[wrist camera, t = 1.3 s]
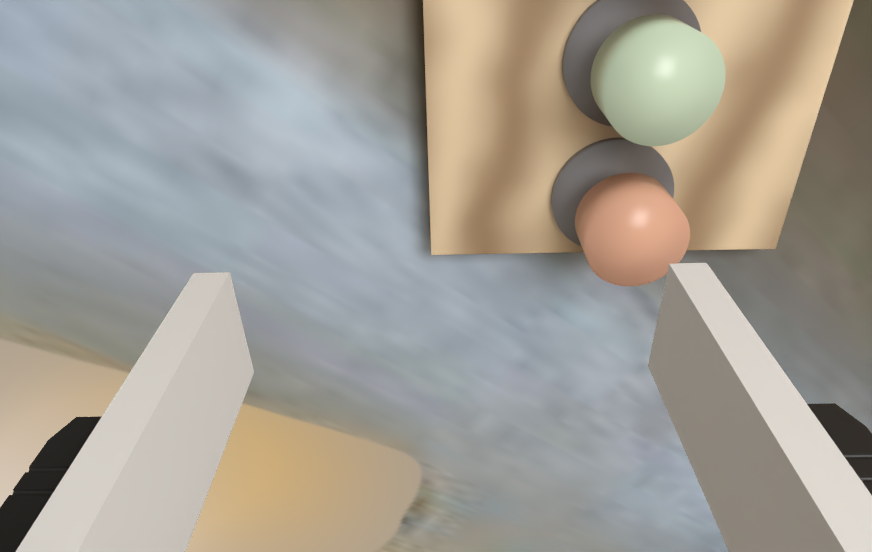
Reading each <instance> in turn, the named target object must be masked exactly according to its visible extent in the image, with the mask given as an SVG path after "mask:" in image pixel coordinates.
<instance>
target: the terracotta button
mask: <svg viewBox="0 0 872 552" xmlns="http://www.w3.org/2000/svg"><path fill="white" fill-rule="evenodd" d="M575 229H576V233H577V236H578V238H579V241H580V243H581V246H582V248H583V251H584V253H585V256H586V258H587V261H588V263H589V265H590V267H591V269H592V270H593V271H594V272H595V273H596V275H598V276H599V277H600V278H602V279H603V280H605V281H607V282H609V283H612V284H615V285H620V286H638V285H643V284H647V283H650V282H653V281H655V280H657V279H659V278H661V277H663V276H664V275H666V274H667V272H668V267H669V264H678V263H679V262H680V261H681V259H682V258H683V256H684V254H685V253H686V250H687V248H688V245H689V241H690V227H689V223H688V220H687V218H686V216H685V214H684V213H683V211H682V210H681V209H680V207H679V206H678V205H677V203H676V202H675V201H674V199H673V198H672V197H671V195H670V194H669V193H668V191H667V190H666V189H665V187H664V186H663V185H662V184H661V183H660V182H659V181H657V180H656V179H654V178H652V177H650V176H648V175H645V174H640V173H621V174H616V175H613V176H610V177H608V178H606V179H604V180H602V181H600V182H599V183H597V184H596V185H595V186H593V187H592V188H591V189H590V190H589V191H588V192H587V193H586V194H585V196H584V197H583V198H582V200H581V202H580V204H579V206H578V208H577V211H576V216H575Z"/></svg>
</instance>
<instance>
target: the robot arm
mask: <svg viewBox="0 0 872 552" xmlns="http://www.w3.org/2000/svg"><path fill="white" fill-rule="evenodd" d="M648 367H649V369H650V371H651V374H652V376H653V378H654V381H655V383H656V385H657V387H658V390H659V392H660V394H661V397H662V399H663V401H664V403H665V406H666V408H667V410H668V413H669V415H670V417H671V420H672V422H673V424H674V426H675V429H676V431H677V433H678V436H679V438H680V440H681V442H682V445H683V447H684V449H685V452H686V454H687V456H688V459H689V461H690V463H691V465H692V468H693V470H694V472H695V475H696V477H697V479H698V481H699V484H700V486H701V488H702V491H703V493H704V495H705V497H706V500H707V502H708V504H709V507H710V509H711V511H712V514H713V516H714V518H715V520H716V523H717V525H718V527H719V530H720V532H721V534H722V536H723V539H724V541H725V543H726V546H727V548H728V550H729V552H872V434H871V432H870V431H869V430H868V428H867V427H866V426H865V425H863V424H862V423H861V422H859V421H858V420H857V419H855V418H854V417H852V416H851V415H850V414H848V413H847V412H846V411H844V410H843V409H842V408H840V407H839V406H838V405H836V404H806V402H805V401H804V399H803V398H802V397H801V395H800V394H799V392H798V391H797V390H796V388H795V387H794V385H793V384H792V383H791V381H790V380H789V378H788V377H787V376H786V374H785V373H784V371H783V370H782V368H781V367H780V366H779V364H778V363H777V361H776V360H775V359H774V357H773V356H772V354H771V353H770V352H769V350H768V349H767V347H766V346H765V345H764V343H763V342H762V340H761V339H760V338H759V336H758V335H757V333H756V332H755V331H754V329H753V328H752V326H751V325H750V323H749V322H748V321H747V319H746V318H745V316H744V315H743V314H742V312H741V311H740V309H739V308H738V307H737V305H736V304H735V302H734V301H733V300H732V298H731V297H730V295H729V294H728V293H727V291H726V290H725V288H724V287H723V286H722V284H721V283H720V281H719V280H718V278H717V277H716V276H715V274H714V273H713V271H712V270H711V269H710V267H709V266H708V264H707V263H681V264H669V267H668V272H667V277H666V282H665V286H664V291H663V296H662V301H661V306H660V310H659V315H658V320H657V325H656V330H655V334H654V339H653V344H652V349H651V354H650V358H649V363H648ZM253 374H254V370H253V366H252V362H251V358H250V353H249V349H248V345H247V341H246V337H245V333H244V329H243V325H242V321H241V317H240V313H239V308H238V304H237V300H236V296H235V292H234V288H233V284H232V280H231V276H230V272H224V273H193V275H192V276H191V278H190V279H189V281H188V282H187V284H186V286H185V287H184V289H183V290H182V292H181V293H180V295H179V297H178V298H177V300H176V301H175V303H174V304H173V306H172V308H171V309H170V311H169V312H168V314H167V315H166V317H165V318H164V320H163V322H162V323H161V325H160V326H159V328H158V329H157V331H156V333H155V334H154V336H153V337H152V339H151V340H150V342H149V344H148V345H147V347H146V348H145V350H144V351H143V353H142V354H141V356H140V358H139V359H138V361H137V362H136V364H135V365H134V367H133V369H132V370H131V372H130V373H129V375H128V377H127V378H126V380H125V381H124V383H123V384H122V386H121V387H120V389H119V391H118V392H117V394H116V395H115V397H114V399H113V400H112V401H111V403H110V405H109V406H108V408H107V409H106V411H105V412H104V414H103V416H102V417H76V418H75V419H73V420H72V421H71V422H70V423H69V424H68V425H66V426H65V427H64V428H62V429H61V430H60V431H59V432H58V433H56V434H55V435H54V436H53V437H52V438H50V439H49V440H48V441H47V443H46V444H45V445H44V447H43V448H42V450H41V451H40V453H39V454H38V455H37V457H36V458H35V460H34V461H33V462H32V464H31V465H30V467H29V472H27V473H25V474H24V475H23V476H22V478H21V479H20V481H19V482H18V484H17V485H16V486H15V488H14V489H13V490H14V492H13V495H9V496H8V498H7V499H6V501H5V502H4V503H3V505H2V506H1V507H0V552H185V551H186V549H187V546H188V543H189V541H190V538H191V535H192V533H193V530H194V528H195V525H196V522H197V520H198V517H199V515H200V512H201V509H202V507H203V504H204V502H205V499H206V496H207V493H208V491H209V489H210V486H211V483H212V481H213V478H214V475H215V473H216V470H217V468H218V465H219V462H220V460H221V457H222V454H223V452H224V449H225V447H226V444H227V441H228V439H229V436H230V433H231V431H232V429H233V426H234V423H235V421H236V418H237V415H238V413H239V410H240V408H241V405H242V402H243V400H244V397H245V395H246V392H247V389H248V387H249V384H250V382H251V379H252V376H253Z"/></svg>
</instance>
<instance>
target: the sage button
mask: <svg viewBox="0 0 872 552" xmlns="http://www.w3.org/2000/svg"><path fill="white" fill-rule="evenodd" d="M725 75H726V72H725V64H724V60H723V57H722V54H721V52H720V50H719V49H718V47H717V46H716V44H715V43H714V42H713V41H712V40H711V39H710V38H709V37H708V36H706V35H705V34H703V33H702V32H700V31H698V30H696V29H694V28H693V27H691V26H689V25H687V24H685V23H683V22H682V21H680V20H678V19H676V18H674V17H671V16H667V15H662V14H651V15H644V16H640V17H637V18H634V19H632V20H630V21H628V22H626V23H624V24H623V25H621V26H620V27H618V28H617V29H616V30H615V31H613V32H612V33H611V34H610V35H609V36H608V37H607V38H606V40H605V41H604V42H603V44H602V45H601V47H600V48H599V50H598V52H597V54H596V56H595V59H594V62H593V65H592V70H591V80H590V82H591V90H592V94H593V97H594V100H595V102H596V104H597V105H598V107H599V108H600V110H601V111H602V112H603V114H604V115H605V117H606V118H607V119H608V121H609V122H610V124H611V125H612V126H613V128H614V129H615V130H616V131H617V132H618V133H619V134H620V135H621V136H622V137H624V138H625V139H627V140H629V141H631V142H633V143H636V144H639V145H644V146H663V145H668V144H672V143H675V142H677V141H680V140H682V139H684V138H686V137H688V136H689V135H691V134H692V133H694V132H695V131H696V130H698V129H699V128H700V127H701V126H702V125H703V124H704V123H705V122H706V121H707V120H708V119H709V118H710V116H711V115H712V114H713V112H714V111H715V109H716V107H717V105H718V104H719V101H720V99H721V97H722V94H723V90H724V86H725Z"/></svg>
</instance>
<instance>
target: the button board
mask: <svg viewBox="0 0 872 552" xmlns="http://www.w3.org/2000/svg"><path fill="white" fill-rule="evenodd" d="M852 4H853V0H423V18H424V48H425V79H426V109H427V140H428V170H429V201H430V231H431V255H450V254H506V253H561V252H584V251H583V248H582V246H581V243H580V241H579V238H578V236H577V233H576V229H575V216H576V211H577V208H578V206H579V204H580V202H581V200H582V198H583V197H584V196H585V194H586V193H587V192H588V191H589V190H590V189H591V188H592V187H593V186H595V185H596V184H597V183H599V182H600V181H602V180H604V179H606V178H608V177H610V176H613V175H616V174H621V173H640V174H645V175H648V176H650V177H652V178H654V179H656V180H657V181H659V182H660V183H661V184H662V185H663V186H664V187H665V189H666V190H667V191H668V193H669V194H670V195H671V197H672V198H673V199H674V201H675V202H676V203H677V205H678V206H679V207H680V209H681V210H682V211H683V213H684V214H685V216H686V218H687V220H688V223H689V227H690V241H689V245H688V248H687V250H729V249H776V245H777V242H778V239H779V236H780V233H781V229H782V226H783V223H784V220H785V217H786V214H787V210H788V207H789V204H790V201H791V198H792V194H793V191H794V188H795V185H796V182H797V179H798V175H799V172H800V169H801V166H802V163H803V159H804V156H805V153H806V150H807V147H808V144H809V140H810V137H811V134H812V131H813V128H814V124H815V121H816V118H817V115H818V112H819V109H820V105H821V102H822V99H823V96H824V93H825V89H826V86H827V83H828V80H829V77H830V74H831V70H832V67H833V64H834V61H835V58H836V54H837V51H838V48H839V45H840V42H841V39H842V35H843V32H844V29H845V26H846V23H847V19H848V16H849V13H850V10H851V7H852ZM651 14H662V15H667V16H671V17H674V18H676V19H678V20H680V21H682V22H683V23H685V24H687V25H689V26H691V27H693V28H694V29H696V30H698V31H700V32H702V33H703V34H705V35H706V36H708V37H709V38H710V39H711V40H712V41H713V42H714V43H715V44H716V46H717V47H718V49H719V50H720V52H721V54H722V57H723V60H724V64H725V72H726V75H725V86H724V90H723V94H722V97H721V99H720V101H719V104H718V105H717V107H716V109H715V111H714V112H713V114H712V115H711V116H710V118H709V119H708V120H707V121H706V122H705V123H704V124H703V125H702V126H701V127H700V128H699V129H698V130H696V131H695V132H694V133H692V134H691V135H689V136H688V137H686V138H684V139H682V140H680V141H677V142H675V143H672V144H668V145H663V146H644V145H639V144H636V143H633V142H631V141H629V140H627V139H625V138H624V137H622V136H621V135H620V134H619V133H618V132H617V131H616V130H615V129H614V128H613V126H612V125H611V124H610V122H609V121H608V119H607V118H606V117H605V115H604V114H603V112H602V111H601V110H600V108H599V107H598V105H597V104H596V102H595V100H594V97H593V94H592V90H591V82H590V80H591V70H592V65H593V62H594V59H595V56H596V54H597V52H598V50H599V48H600V47H601V45H602V44H603V42H604V41H605V40H606V38H607V37H608V36H609V35H610V34H611V33H612V32H613V31H615V30H616V29H617V28H618V27H620V26H621V25H623V24H624V23H626V22H628V21H630V20H632V19H634V18H637V17H640V16H644V15H651Z"/></svg>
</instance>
